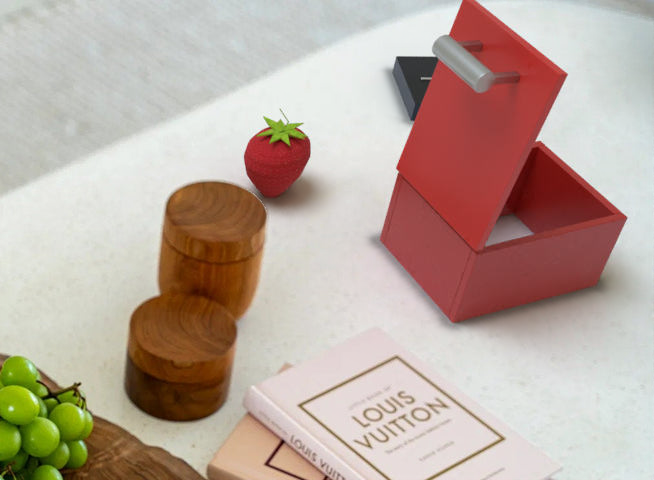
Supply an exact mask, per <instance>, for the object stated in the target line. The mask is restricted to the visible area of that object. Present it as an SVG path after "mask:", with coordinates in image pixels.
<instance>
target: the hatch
mask: <svg viewBox="0 0 654 480" xmlns="http://www.w3.org/2000/svg"><path fill="white" fill-rule="evenodd" d="M431 52H432V54H433V55H434V57H437V58H438V59H439V61H438V63H437V66H436V68H435V71H434V73H433V76H432V78H431V81H430V83H429V86H428V89H427V91H426V94H425V96H424V99H423V101H422V104H421V106H420V109H419V111H418V114H417V116H416V119H415V121H413V124H412V127H411V129H410V131H409V134H408V135H407V139H406V141H405V144H404V147H403V149H402V152H401V154H400V156H399V159H398V162H397V164H396V166H395V169H396V171H398V172H400V173H401V174H402V175H403V176H404V178H405V179H406V180H407V181H408V182H409V183H410V184H411V185H412V186H413V187H414V188H415V189H416V190H417V191H418V192H419V193H420V194H421V195H422V196H423V197H424V198H425V199H426V200H427V201H428V202H429V203H430V205H431V206H432V207H433V208H434V209H435V210H436V211H437V212H438V213H439V214H440V215H441V216H442V217H443V218H444V219H445V220H446V221H447V222H448V223H449V224H450V225H451V226H452V227H453V228H454V229H455V230H456V232H457V233H458V234H459V235H460V236H461V237H462V238H463V239H464V240H465V241H466V242H467V243H468V244H469V245H470V246H471V247H472V248H473V249H474V250H475V251H478V250H483V248H484V247H485V246H486V243H487V242H488V240H489V237H490V236H491V233H492V231H493V229H494V228H495V226H496V223H497V221H498V219H499V218H500V217H499V215H500V213H501V211H502V209H503V207H504V205H505V203H506V201H507V199H508V197H509V194H510V192H511V190H512V188H513V186H514V184H515V182H516V180H517V178H518V176H519V174H520V172H521V170H522V168H523V166H524V164H525V162H526V160H527V158H528V155H529V153H530V151H531V149H532V147H533V145H534V143H535V142H536V141H537V139H538V137H539V135H540V133H541V131H542V129H543V127H544V125H545V122H546V120H547V119H548V117H549V114H550V112H551V111H552V108H553V106H554V105H555V102H556V100H557V98H558V96H559V94H560V92H561V90H562V88H563V86H564V83H565V82H566V79H567V77H568V75H569V74H568V72H566V71H565V70H564V69H563V68H561V67H560V66H559V65H558V64H556V63H555V62H554V61H553V60H551V59H550V58H548V57H547V56H546V55H545V54H543V53H542V52H541V51H540V50H539V49H538V48H536V47H535V46H533V45H532V44H531V43H530V42H528V41H527V40H526V39H525V38H524V37H522V36H521V35H519V33H517V32H516V31H515V30H513V29H512V28H511V27H509V25H507V24H506V23H505V22H503V21H502V20H501V19H499V18H498V17H497V16H496V15H495V14H493V13H492V12H491V11H489V9H487V8H486V7H484V6H483V5H482V3H479V2H478V0H462V1H461V3H460V6H459V8H458V11H457V13H456V16H455V18H454V20H453V24H452V26H451V27H450V30H449V33H448V34H442V35H441V36H439V37H438V38H437V39H436V40H434V42H433V44H432V47H431Z"/></svg>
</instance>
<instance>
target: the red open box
mask: <svg viewBox="0 0 654 480" xmlns="http://www.w3.org/2000/svg"><path fill="white" fill-rule="evenodd" d="M395 178H396V179H395V182H394V186H393V190H392V192H391V197H390V200H389V204H388V207H387V211H386V215H385V219H384V222H383V226H382V229H381V233H380V237H379V241H380V243H381V244H382V245H383V246H384V247H385V248H386V250H388V252H389V253H391V255H392V256H393V257H394V258H395V259H396V260H397V262H398V263H399V264H400V265H401V266H402V267H403V269H404V270H405V271H406V272H407V273H408V274H409V275H410V276H411V277H412V279H413V280H414V281H415V282H416V283H417V284H418V285H419V287H420V288H421V289H422V290H423V291H424V292H425V294H426V295H427V296H428V297H429V298H430V299H431V300H432V302H433V303H434V304H435V305H436V306H437V308H439V309H440V310H441V312H442V313H443V314H444V315H445V316H446V317H447V318H448V320H449V321H450V322H451V323H452V324H455V323H458V322H463V321H466V320H470V319H474V318H477V317H481V316H485V315H486V316H487V315H489V314H493V313H496V312H501V311H504V310H508V309H512V308H515V307H520V306H524V305H527V304H532V303H535V302H539V301H542V300H547V299H550V298H554V297H557V296H562V295H565V294H569V293H572V292H576V291H580V290H585V289H588V288H591V287H595V286H597V284H598V283H599V280H600V278H601V276H602V274H603V272H604V270H605V267H606V265H607V263H608V261H609V259H610V257H611V255H612V252H613V250H614V249H615V246H616V243H617V242H618V239H619V238H620V236H621V234H622V231H623V230H624V227H625V225H626V222H627V220H628V216H627V215H625V213H623V212H622V211H621V210H620V209H619V208H618V207H616V205H614V203H612V202H611V201H610V200H608V198H606V197H605V196H604V195H603V194H602V193H600V191H599V190H597V189H596V188H595V187H593V185H591V183H589V182H588V181H587V180H586V179H585V178H584V177H582V176H581V175H580V174H579V173H578V172H577V171H576V170H575V169H573V168H572V167H571V166H570V165H569V164H567V163H566V162H565V161H564V160H563V159H562V158H561V157H559V156H558V154H556V153H555V152H554V151H553V150H551V149H550V148H549V146H547V145H546V144H545V143H544V142H543V141H541V140H536V141H535V143H534V145H533V147H532V149H531V151H530V153H529V155H528V158H527V160H526V162H525V164H524V166H523V168H522V170H521V172H520V174H519V176H518V178H517V180H516V182H515V184H514V186H513V188H512V190H511V192H510V194H509V197H508V199H507V201H506V203H505V205H504V207H503V209H502V211H501V213H500V215H499V217H498V218H500V217H504V216H508V215H514V216H515V217H516V218H518V220H519V221H520V222H521V223H522V224H523V225H524V226H525V227H526V228H527V229H528V230H529V231H530V232H531V233H533V234H530V235H526V236H522V237H517V238H513V239H509V240H505V241H501V242H497V243H493V244H489V245H485V246H484V248H483V250H478V251H475V250H474V249H473V248H472V247H471V246H470V245H469V244H468V243H467V242H466V241H465V240H464V239H463V238H462V237H461V236H460V235H459V234H458V233H457V232H456V230H455V229H454V228H453V227H452V226H451V225H450V224H449V223H448V222H447V221H446V220H445V219H444V218H443V217H442V216H441V215H440V214H439V213H438V212H437V211H436V210H435V209H434V208H433V207H432V206H431V205H430V203H429V202H428V201H427V200H426V199H425V198H424V197H423V196H422V195H421V194H420V193H419V192H418V191H417V190H416V189H415V188H414V187H413V186H412V185H411V184H410V183H409V182H408V181H407V180H406V179H405V178H404V176H403V175H402V174H401V173H400V172H399V171H398V172H397V175H396V177H395Z"/></svg>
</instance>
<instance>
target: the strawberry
mask: <svg viewBox="0 0 654 480" xmlns="http://www.w3.org/2000/svg"><path fill="white" fill-rule="evenodd" d="M279 111H280V113H281V114H282V115H283V118H285V120H286V121H287V123H286V124H285V123H284V122H283V120H282V119H281V118H280V119H279V120H278V121H275V120H273V119H271V118H269V117H267V116H265V115H263V116H262V118H263V119H264V121H265V123H266V124H267V127H264V128H263V129H261V130H260V131H258V132H257V133H256V134H254V135H253V136H252V137H251V138H250V139H249V141H248V143H247V145H246V147H245V150H244V153H243V161H244V167H245V173H246V176H247V178H249V180H250V182H251V183H252V184H253V186H254V187H255V188H256V190H258V192H259V193H260V194H262V196H263V197H266V198H271V199H272V198H277V197H279V196H281V195H282V194H283V193H284V192H286V191H287V190H288V189H289V188H290V187H291V186H292V185H293V184H295V181H297V180H298V179H299V178H300V177H301V175H302V174H303V172H304V170H305V168H306V167H307V164H308V163H309V161H310V158H311V154H312V150H311V147H312V146H311V145H312V143H311V140H310V138H309V136H308V135H307V134H306V133H305V132H304V131H303V130H302V129H300V128H299V127H300V126H302V125H304V124H305V122H291V123H290V120H289V119H288V117H287V116H286V115H285V113H284V112H283V110H282V109H281V108H279Z"/></svg>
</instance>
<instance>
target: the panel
mask: <svg viewBox="0 0 654 480" xmlns="http://www.w3.org/2000/svg"><path fill="white" fill-rule="evenodd" d="M438 61H439V59H438V58H437V57H436V56H431V55H430V56H427V55H425V56H424V55H422V56H420V55H419V56H417V55H415V56H414V55H413V56H412V55H411V56H410V55H408V56H407V55H397V56H395V61H394V64H393V68H392V71H391V72H392V76H393V78H394V80H395V84H396V86H397V89H398V91H399V94H400V96H401V99H402V101H403V105H404V107H405V110H406V112H407V115H408V117H409V120H410V121H411V122H414V121H415V119H416V116H417V114H418V111H419V109H420V106H421V104H422V101H423V99H424V96H425V94H426V91H427V89H428V86H429V83H430V81H431V78H432V76H433V73H434V71H435V68H436V66H437V63H438Z"/></svg>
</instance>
